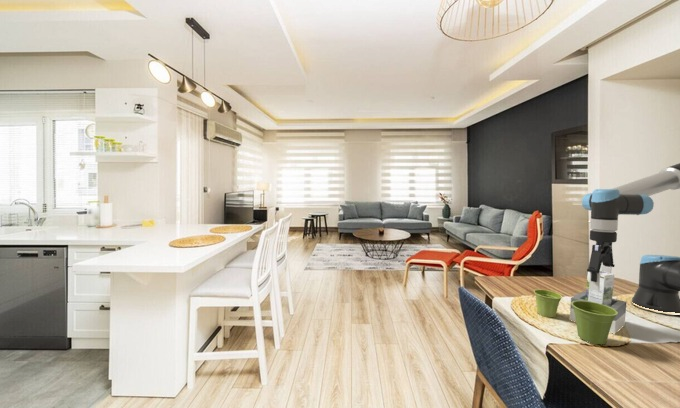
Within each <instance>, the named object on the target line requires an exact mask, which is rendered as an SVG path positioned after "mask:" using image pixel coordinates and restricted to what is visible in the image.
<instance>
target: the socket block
mask: <svg viewBox="0 0 680 408" xmlns="http://www.w3.org/2000/svg"><path fill="white" fill-rule="evenodd" d="M585 298H586V291H580V292H579V293H577V294H575V295H573V296H571V297H570V303H571V302H573V301H587V300H585ZM590 302H591V301H590ZM606 306H607V305H606ZM569 307H570V309H569V311H570V312H569V321H570V320H572V321H575V322H576V318H575V312H574V308H573V306H572V305H571V304H570V306H569ZM609 307H610V306H609ZM611 308H613V309H615V310H616V311H617V312H618V314H617V315H616V316H615V318H614V321H613V322H612V325H611V328H610V331H609V332H610V333H614V334H615V333H616V332H617V331H618V330H619V329H620V328H621V327H622V326H623V327H625V325H626V314H627V312H626V311H627V301H625V300H620V299H616V298H613V297H612V306H611ZM572 321H571V322H572ZM575 322H574V323H575ZM623 327H622V328H623ZM622 328H621V329H622ZM621 329H620V330H621ZM620 330H619V331H620ZM619 331H618V332H619ZM618 332H617V333H618ZM610 333H609V334H610ZM617 333H616V334H617ZM616 334H615V335H616Z"/></svg>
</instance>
